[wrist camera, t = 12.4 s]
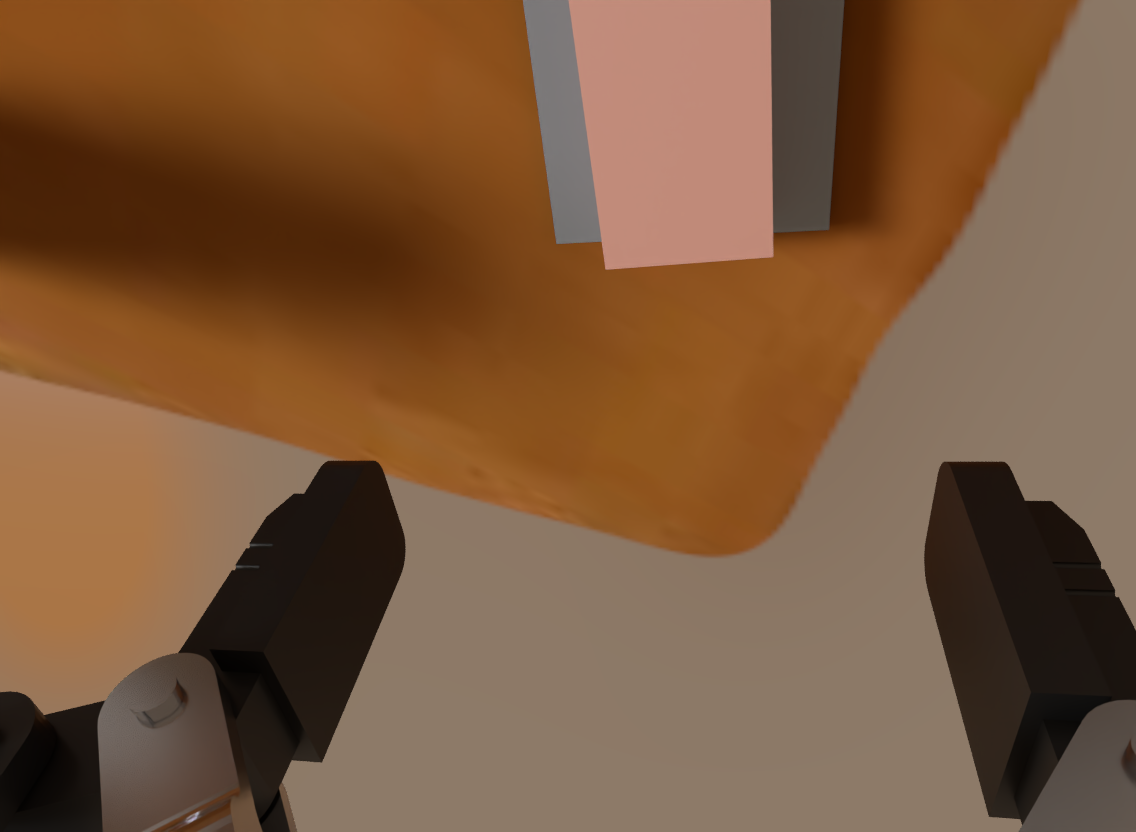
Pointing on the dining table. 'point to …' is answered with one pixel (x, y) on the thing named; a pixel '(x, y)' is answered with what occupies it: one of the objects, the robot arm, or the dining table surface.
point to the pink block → (678, 127)
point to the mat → (799, 115)
